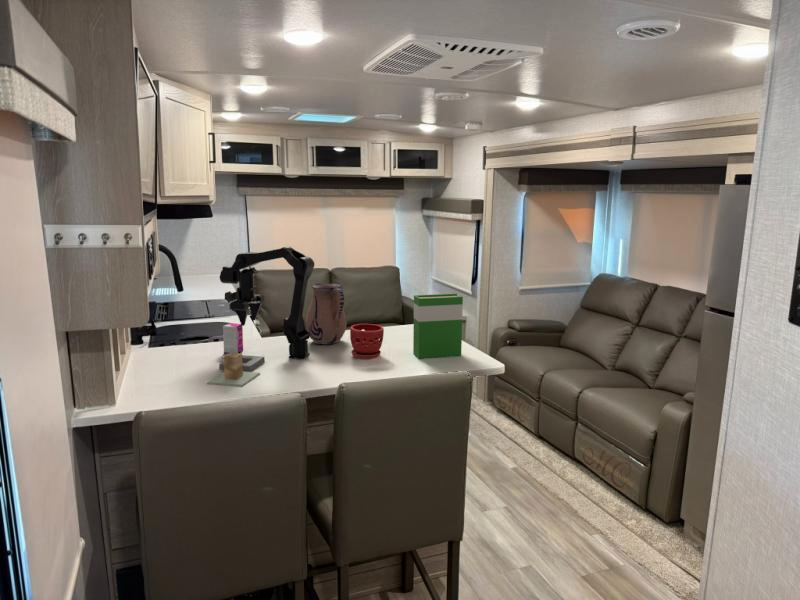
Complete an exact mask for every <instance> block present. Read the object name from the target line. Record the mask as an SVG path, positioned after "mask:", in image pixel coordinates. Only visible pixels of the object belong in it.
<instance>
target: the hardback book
mask: <svg viewBox="0 0 800 600" xmlns="http://www.w3.org/2000/svg"><path fill="white" fill-rule="evenodd" d="M463 300H464V296H458V293H440V294H439V293H438V294H436V293H435V294H418V295H417V294H416V295H415V294H414V295H413V336H412V337H413V341H412V342H413V343H412V344H413V345H412V346H413V349H412V350H413V351H412V353H413V355H414V357H415V358H416V359H418V360H429V359H431V360H432V359H444V358H458V357H459V358H460V357H462V342H463V339H462V337H463V335H462V334H463V304H464V303H463V302H464V301H463Z"/></svg>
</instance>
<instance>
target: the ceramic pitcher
mask: <svg viewBox="0 0 800 600" xmlns="http://www.w3.org/2000/svg"><path fill="white" fill-rule="evenodd" d="M341 287H342V285H341V284H338V283H326V284H325V283H324V284H322V283H316V284H315V285H312V286H311V288H312V289H313V296H312V299H311V302H310V303H309V308H308V311H307V314H306V319H305V329H306V330H307V331H308V332H309V334H310V337H309V339H311V341H313V342H314V343H316V344H318V345H320V344H321V345H332V344H335V343H338V342H339V341H340V340H341V339H342V338H343V336H345V332H346V330H347V318H346V313H345V310H344V306H345V305H344V304H345V296H344V295H345V294H344V292H343V290H342V289H341Z"/></svg>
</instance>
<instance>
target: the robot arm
mask: <svg viewBox="0 0 800 600" xmlns="http://www.w3.org/2000/svg"><path fill="white" fill-rule="evenodd" d="M282 258H283V259H284V260H285V261H286V262H287V263H288V265H289V266H291V267H292V269H293V270H292V273H293V277H294V280H295V281H294V286H293V293H292V300H291V306H290V314H289V316H288V317H285V318H284V319H283V325H282V327H281V329H282V330H283V331H282V332H283V334H284V336H285V337H286V340H287V342H288V344H289V345H288V353H289V356H288V358H289V359H300V360H301V359H303V360H304V359H306V358H308V356H310V352H309V343H308V341H309V339H310V334H309V332H308V331H307V330H306V327H305V321H304V317H303V314H304V313H303V312H304V307H305V302H306V301H305V300H306V296H307V295H306V294H307V289H308V288H307V286H308V281H309V280H310V277H311V276H312V274H313V271H314V268H315V261H314V260H313V259H312V258H311V257H309V256H307V255H305V254H303V253H301V252H299V251H297V250H296V249H294V248H293V247H291V246H284V247H281V248H277V249H272V250H266V251H262V252H261V251H260V252H257V251H256V252H255V251H253V252H252V251H251V252H249V251H247V252H242V253H238V254H236V256H235V259H234V260H235V261H234V262H233V264H232V265H231V266H227V265H226V266H222V267H221V268H222V269H221V271H220V274H219V280H220V282H221V284H231V285H237V284H238V285H239V286H238V287H237V288H236V291H234V292H231V291H226V292H224V298H223V299H224V300H225V301H227V303H229V304H228V306H229V310H231V311H232V312H234V313H235V314H236V315H237V317H238V320H239V322H240V324H241V325H242V327H244V326H246V321H247V318H248V313H249V311H250V315H251V316H250V317H251V320H252V321H256V319H257V317H258V315H259V312H260V309H261V308H262V305H263V304H264V302H265V296H264V295H263V294H258V293H257V294H256V293H255V290H257V286H256V285H255V280H254V279H255V277H254V276H255V275H256V274H259V270H258V269H257V268H255V267H254V266H255V265H258V264H260V263H262V262H266V261H271V260H276V259H282ZM248 307H249V308H248ZM249 309H250V310H249Z"/></svg>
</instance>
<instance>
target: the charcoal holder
mask: <svg viewBox="0 0 800 600" xmlns="http://www.w3.org/2000/svg"><path fill="white" fill-rule="evenodd" d="M265 358H266V357H265V356H259V355H243V354H242V365H243V371H244V372H253V371H254V370H255V369H257V368H258V367H261V365H263V364H264V363H265V362H266V361H265ZM218 366H219V369H218V370H219V371H224V361H223V362H220V363H219V364H218Z"/></svg>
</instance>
